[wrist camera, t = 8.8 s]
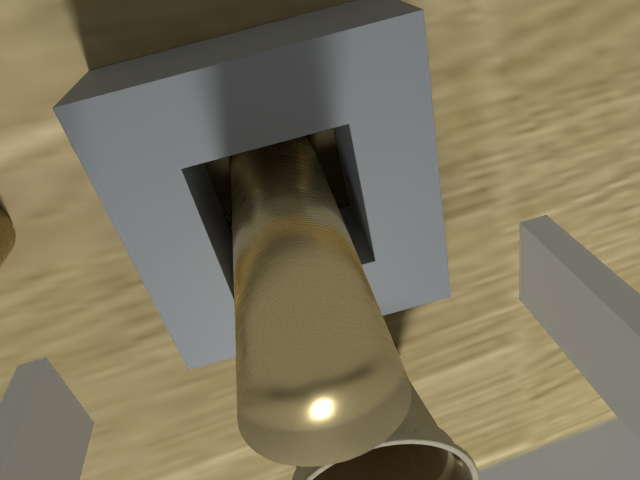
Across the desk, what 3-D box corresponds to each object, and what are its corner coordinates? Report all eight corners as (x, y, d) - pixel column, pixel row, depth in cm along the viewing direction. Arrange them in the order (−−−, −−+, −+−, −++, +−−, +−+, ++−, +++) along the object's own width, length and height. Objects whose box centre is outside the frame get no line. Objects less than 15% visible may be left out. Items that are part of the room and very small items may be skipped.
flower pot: (243, 350, 29) (249, 492, 21) (397, 288, 28) (457, 412, 21) (304, 442, 34) (326, 582, 26) (435, 390, 33) (495, 519, 26)
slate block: (194, 299, 26) (188, 369, 22) (89, 70, 20) (52, 108, 16) (415, 239, 27) (450, 296, 22) (381, -7, 20) (423, 9, 16)
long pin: (245, 215, 24) (265, 483, 12) (218, 139, 22) (212, 376, 10) (325, 194, 24) (420, 439, 13) (306, 115, 22) (399, 323, 10)
